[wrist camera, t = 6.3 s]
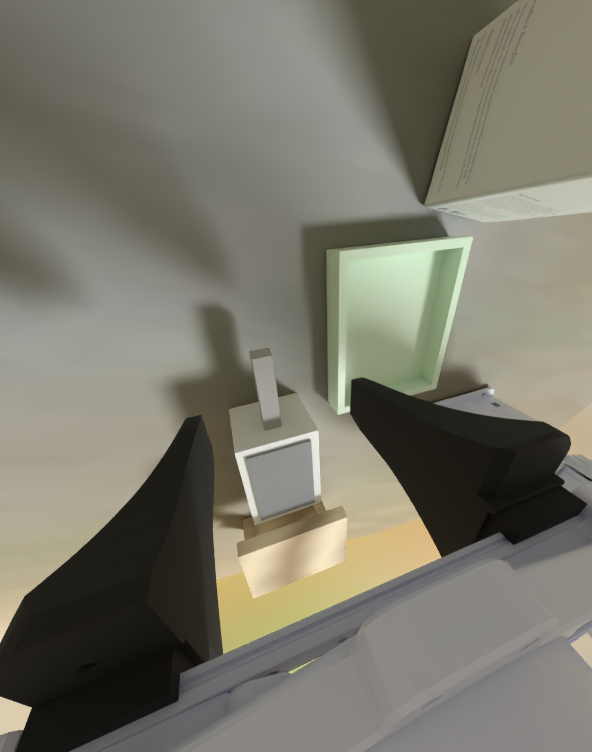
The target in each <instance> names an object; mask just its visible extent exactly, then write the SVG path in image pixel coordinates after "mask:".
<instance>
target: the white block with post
mask: <svg viewBox="0 0 592 752" xmlns="http://www.w3.org/2000/svg"><path fill="white" fill-rule="evenodd" d="M249 353H250V359H251V364H252V370H253V375H254V381H255V386H256V391H257V397H258V402H256V403H252V404H247V405H243V406H239V407H235V408H231V409H229V414H230V422H231V430H232V437H233V445H234V452H235V456H236V460H237V464H238V467H239V471H240V474H241V478H242V482H243V485H244V489H245V492H246V496H247V500H248V503H249V507H250V510H251V514H252V518H253V521H254V525H257V524H260V523H263V522H266V521H269V520H272V519H275V518H278V517H281V516H283V515H286V514H289V513H292V512H295V511H298V510H301V509H304V508H307V507H309V506H312V505H315V504H318V503H321V489H320V464H319V439H318V429H317V427H316V426H315V424H314V422H313V420H312V419H311V417H310V415H309V413H308V412H307V410H306V408H305V407H304V405H303V403H302V401H301V400H300V398H299V396H298V394H297V393H293V394H289V395H285V396H281V397H278V394H277V387H276V379H275V372H274V364H273V357H272V354H271V352H270V350H269V349H268V348H265V349H260V350H254V351H249Z"/></svg>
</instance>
